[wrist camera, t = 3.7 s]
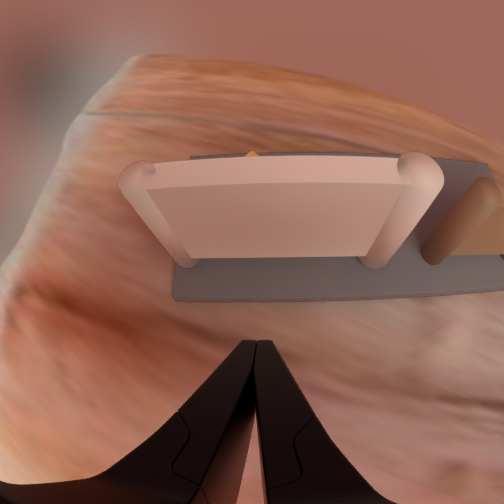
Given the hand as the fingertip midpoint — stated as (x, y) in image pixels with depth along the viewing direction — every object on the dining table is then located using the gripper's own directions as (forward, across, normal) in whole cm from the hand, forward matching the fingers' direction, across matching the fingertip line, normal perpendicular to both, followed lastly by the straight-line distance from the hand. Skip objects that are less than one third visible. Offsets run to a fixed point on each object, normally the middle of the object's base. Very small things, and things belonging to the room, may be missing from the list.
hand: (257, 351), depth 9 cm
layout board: (+12, -6, 0) cm, 14 cm away
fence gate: (+10, -1, +1) cm, 10 cm away
